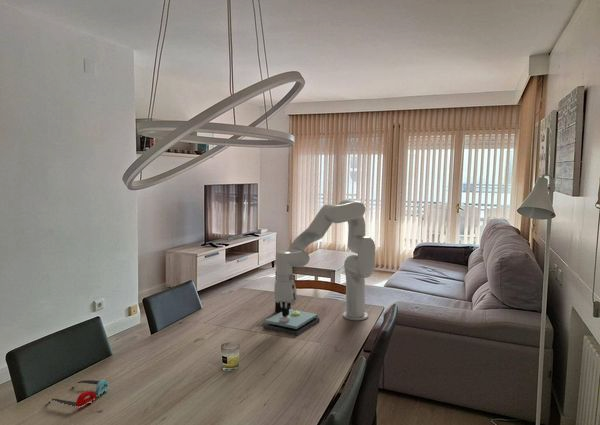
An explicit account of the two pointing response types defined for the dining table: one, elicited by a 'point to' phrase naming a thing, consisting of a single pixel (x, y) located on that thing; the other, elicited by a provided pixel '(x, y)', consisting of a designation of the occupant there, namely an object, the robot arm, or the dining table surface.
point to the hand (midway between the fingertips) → (285, 315)
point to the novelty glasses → (87, 393)
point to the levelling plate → (291, 319)
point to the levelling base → (291, 330)
